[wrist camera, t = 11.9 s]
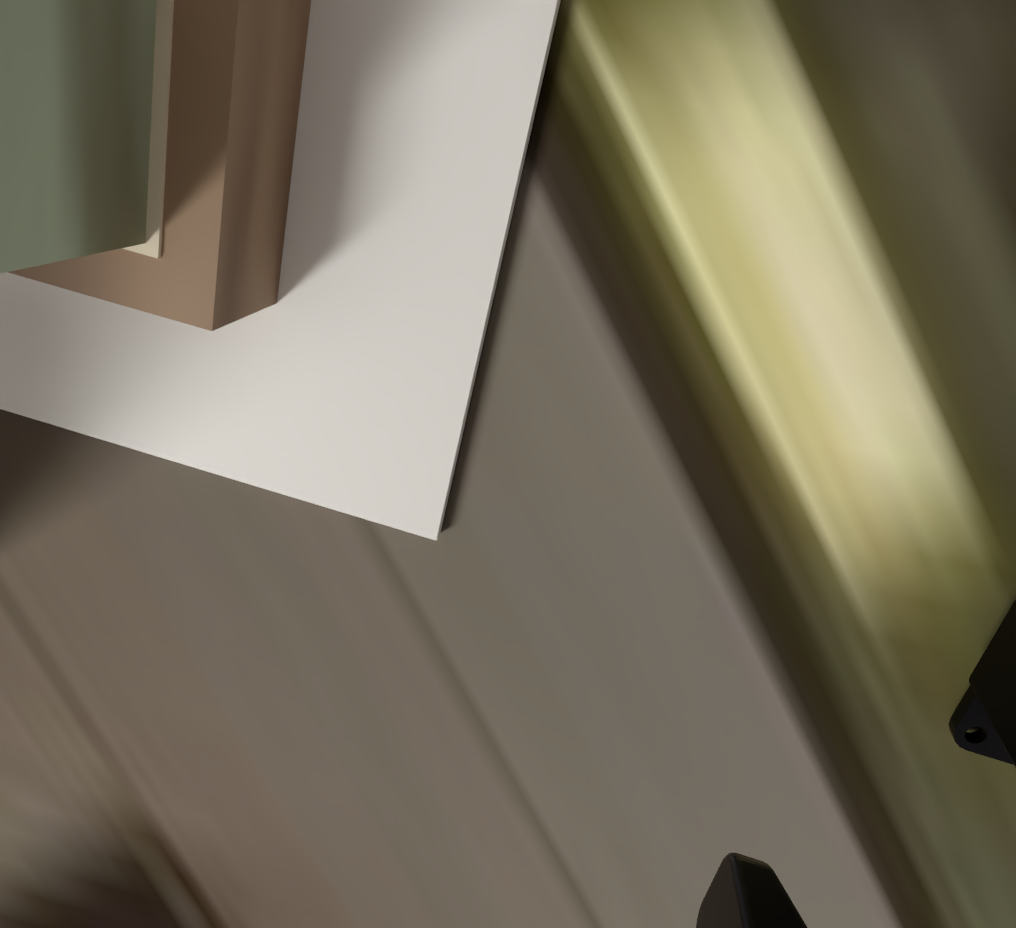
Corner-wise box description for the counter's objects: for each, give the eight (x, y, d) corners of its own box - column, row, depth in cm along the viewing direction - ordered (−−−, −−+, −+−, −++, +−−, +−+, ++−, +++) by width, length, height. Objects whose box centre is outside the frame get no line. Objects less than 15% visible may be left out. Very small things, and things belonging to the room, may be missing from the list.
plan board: (579, -83, 16) (556, -140, 12) (440, 533, 21) (400, 604, 18) (-76, -238, 17) (-252, -327, 13) (-41, 388, 22) (-159, 431, 19)
